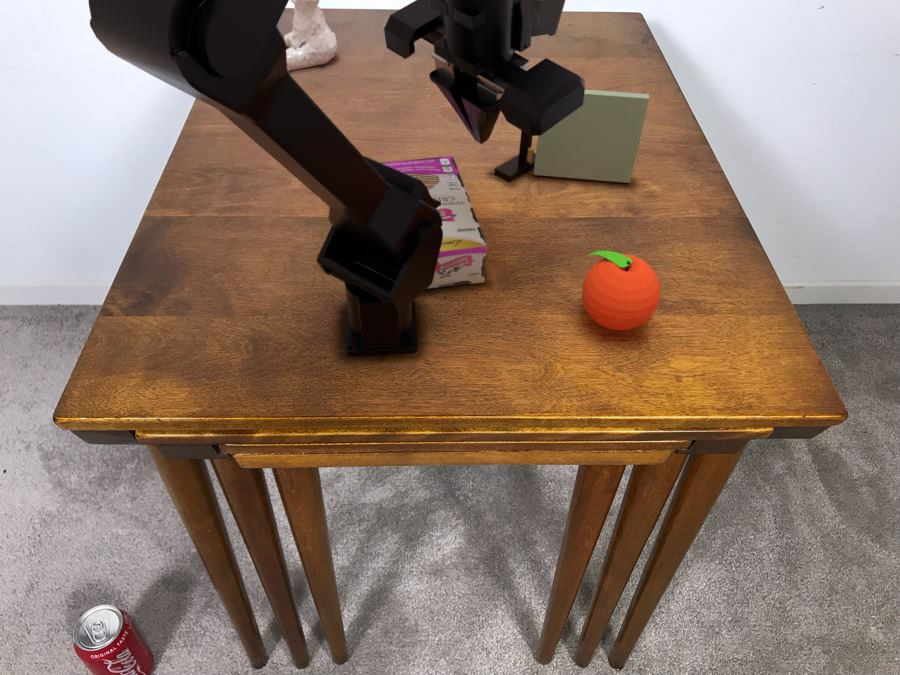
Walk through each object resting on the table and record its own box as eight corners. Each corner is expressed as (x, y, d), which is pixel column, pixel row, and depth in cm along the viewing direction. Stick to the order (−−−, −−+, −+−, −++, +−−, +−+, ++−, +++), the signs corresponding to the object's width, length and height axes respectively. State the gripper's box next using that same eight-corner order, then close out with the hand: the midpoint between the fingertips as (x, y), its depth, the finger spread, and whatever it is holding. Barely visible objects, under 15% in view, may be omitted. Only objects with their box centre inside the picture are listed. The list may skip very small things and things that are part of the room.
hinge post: (513, 184, 83) (523, 86, 74) (494, 174, 84) (501, 76, 76) (546, 165, 86) (559, 68, 77) (527, 155, 87) (537, 59, 79)
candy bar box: (453, 151, 78) (490, 244, 67) (451, 190, 82) (487, 284, 71) (351, 161, 76) (372, 258, 65) (354, 200, 80) (374, 298, 69)
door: (629, 183, 83) (649, 98, 75) (533, 174, 84) (543, 90, 76) (629, 176, 84) (648, 92, 76) (534, 168, 85) (544, 84, 77)
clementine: (553, 313, 68) (563, 254, 63) (597, 280, 71) (610, 222, 66) (622, 358, 64) (638, 299, 59) (665, 320, 67) (684, 262, 62)
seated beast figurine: (287, 43, 108) (274, -42, 99) (343, 45, 108) (336, -40, 99) (273, 72, 101) (259, -17, 93) (334, 74, 101) (325, -15, 93)
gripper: (642, -24, 53) (615, 142, 66) (467, -100, 61) (474, 61, 74) (540, 43, 49) (532, 206, 62) (368, -48, 57) (393, 112, 70)
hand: (482, 140), depth 67 cm, fingers closed
